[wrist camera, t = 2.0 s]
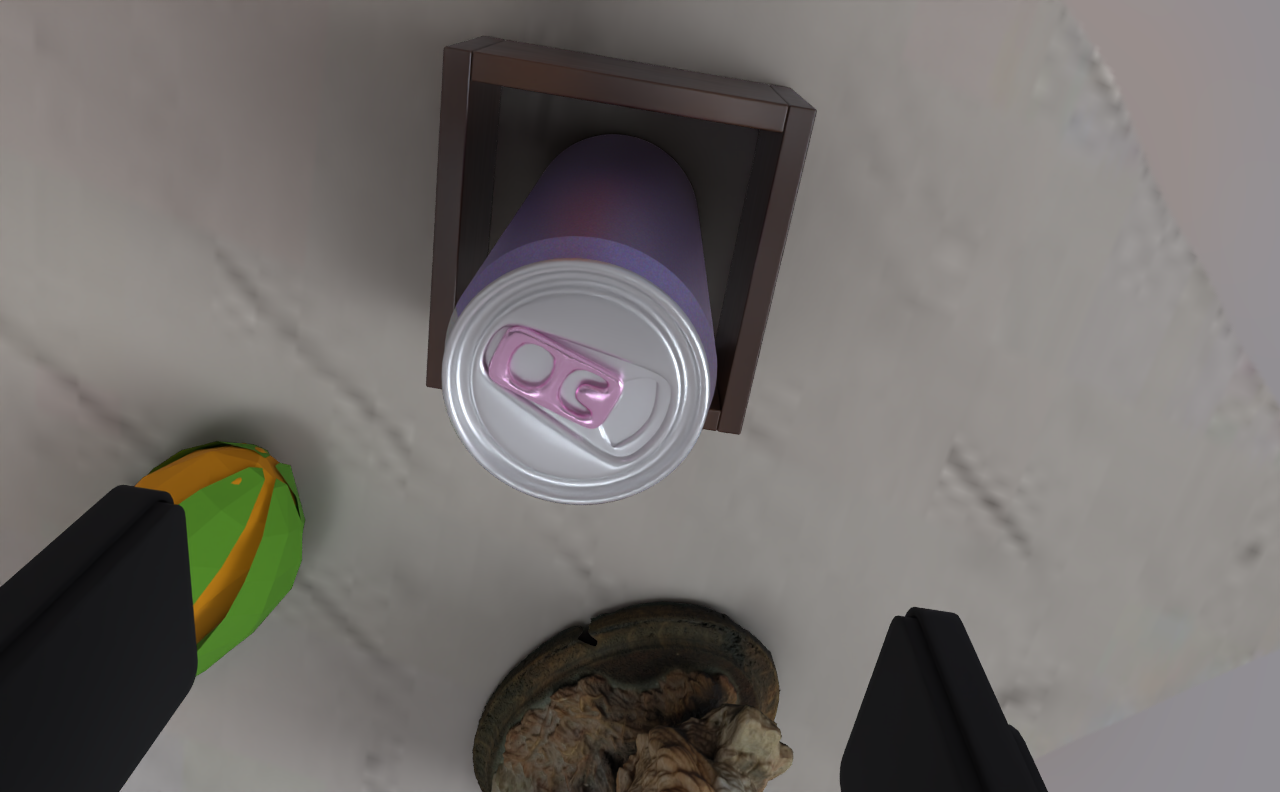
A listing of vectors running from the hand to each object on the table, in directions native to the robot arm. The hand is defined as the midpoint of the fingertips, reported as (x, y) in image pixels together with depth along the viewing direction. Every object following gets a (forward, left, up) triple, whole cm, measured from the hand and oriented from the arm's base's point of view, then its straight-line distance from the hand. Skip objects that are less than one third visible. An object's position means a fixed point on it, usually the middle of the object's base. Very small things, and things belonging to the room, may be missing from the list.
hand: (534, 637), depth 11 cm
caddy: (0, 0, -22) cm, 22 cm away
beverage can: (0, 0, -22) cm, 22 cm away
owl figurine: (+4, -24, -22) cm, 33 cm away
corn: (-17, -19, -22) cm, 34 cm away
